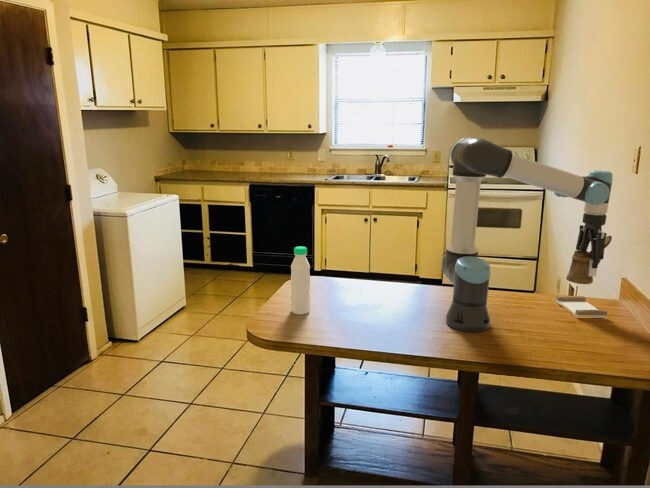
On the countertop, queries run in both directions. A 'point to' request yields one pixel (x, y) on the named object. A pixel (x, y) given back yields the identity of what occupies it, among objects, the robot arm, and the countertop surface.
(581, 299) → the ledge board
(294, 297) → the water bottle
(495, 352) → the countertop surface
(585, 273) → the wooden mug
